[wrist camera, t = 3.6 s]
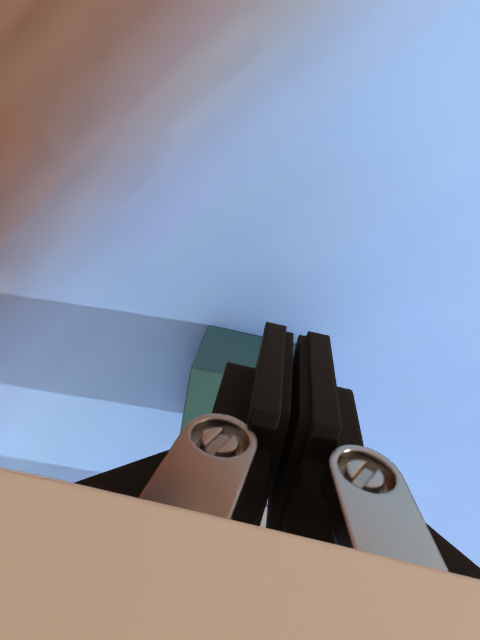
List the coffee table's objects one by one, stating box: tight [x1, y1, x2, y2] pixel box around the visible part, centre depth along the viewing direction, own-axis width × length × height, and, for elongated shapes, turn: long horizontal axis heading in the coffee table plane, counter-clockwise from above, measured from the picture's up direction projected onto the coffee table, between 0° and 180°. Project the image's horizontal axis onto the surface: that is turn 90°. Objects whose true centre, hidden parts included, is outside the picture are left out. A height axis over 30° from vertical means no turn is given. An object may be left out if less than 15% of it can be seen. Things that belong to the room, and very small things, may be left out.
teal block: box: [180, 326, 296, 433], centre depth 25 cm, size 6×6×5 cm
